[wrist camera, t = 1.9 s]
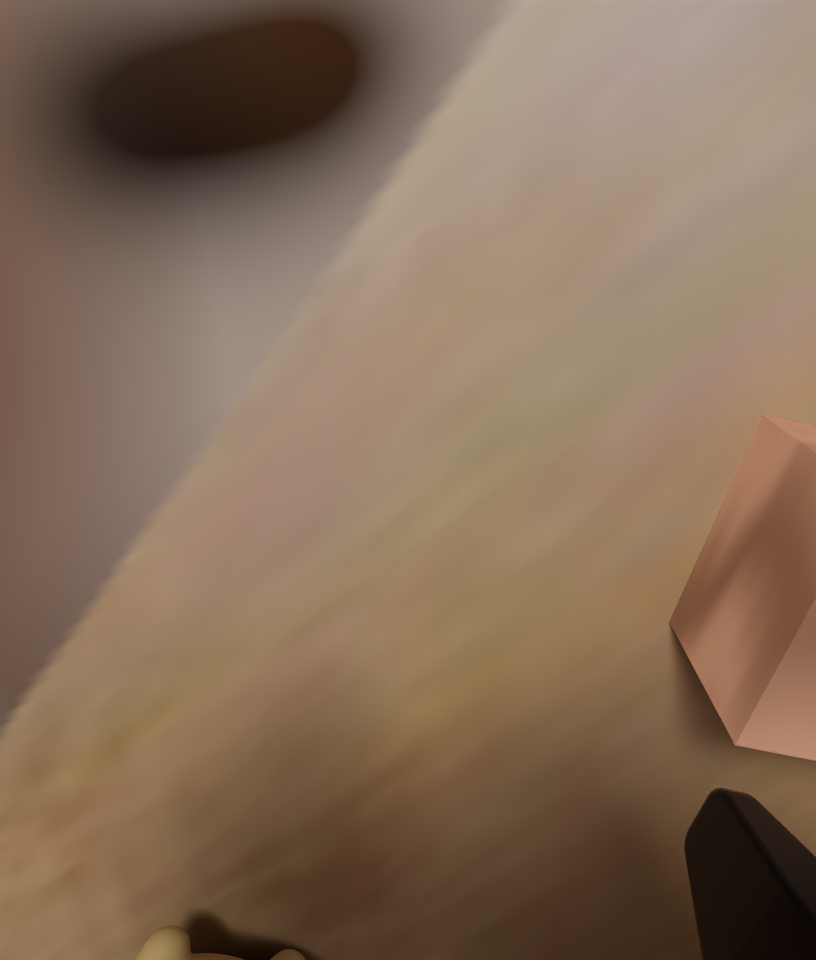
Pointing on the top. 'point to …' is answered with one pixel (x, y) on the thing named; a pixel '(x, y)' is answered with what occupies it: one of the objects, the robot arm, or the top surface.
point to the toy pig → (171, 954)
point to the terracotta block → (760, 596)
